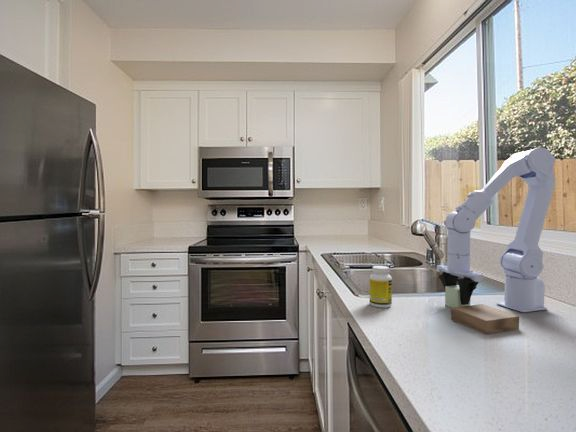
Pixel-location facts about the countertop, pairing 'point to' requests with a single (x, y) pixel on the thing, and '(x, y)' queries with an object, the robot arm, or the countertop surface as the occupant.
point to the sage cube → (453, 296)
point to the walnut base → (485, 318)
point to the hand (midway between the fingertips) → (457, 301)
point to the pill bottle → (380, 287)
